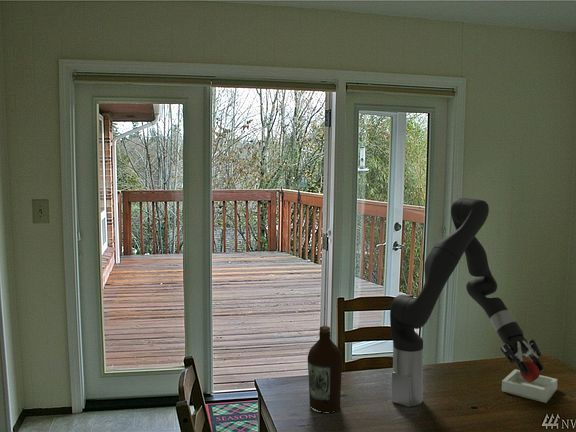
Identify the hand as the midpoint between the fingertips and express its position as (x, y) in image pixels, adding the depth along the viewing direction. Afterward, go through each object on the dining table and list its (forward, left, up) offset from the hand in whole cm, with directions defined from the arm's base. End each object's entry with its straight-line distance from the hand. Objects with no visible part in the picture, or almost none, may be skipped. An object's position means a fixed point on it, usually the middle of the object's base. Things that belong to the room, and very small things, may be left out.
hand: (534, 371), depth 161 cm
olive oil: (-53, +45, -7) cm, 70 cm away
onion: (+1, +2, -4) cm, 5 cm away
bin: (+1, +1, -7) cm, 7 cm away
